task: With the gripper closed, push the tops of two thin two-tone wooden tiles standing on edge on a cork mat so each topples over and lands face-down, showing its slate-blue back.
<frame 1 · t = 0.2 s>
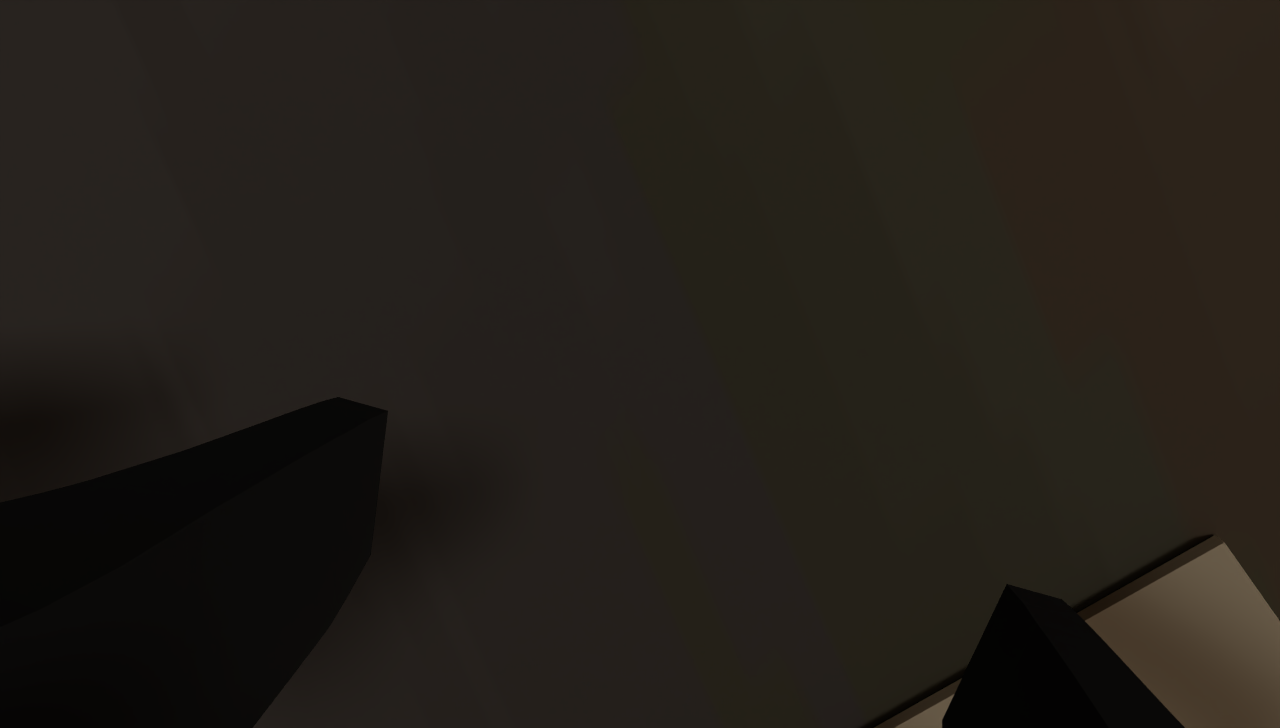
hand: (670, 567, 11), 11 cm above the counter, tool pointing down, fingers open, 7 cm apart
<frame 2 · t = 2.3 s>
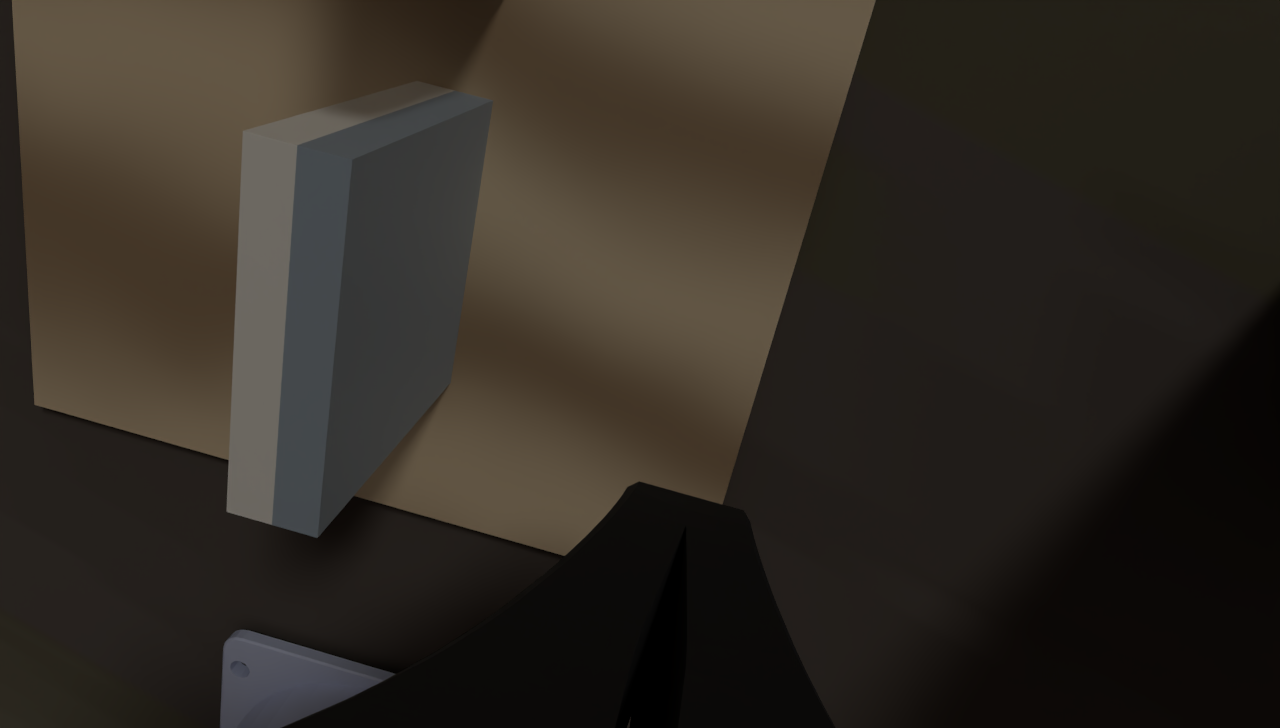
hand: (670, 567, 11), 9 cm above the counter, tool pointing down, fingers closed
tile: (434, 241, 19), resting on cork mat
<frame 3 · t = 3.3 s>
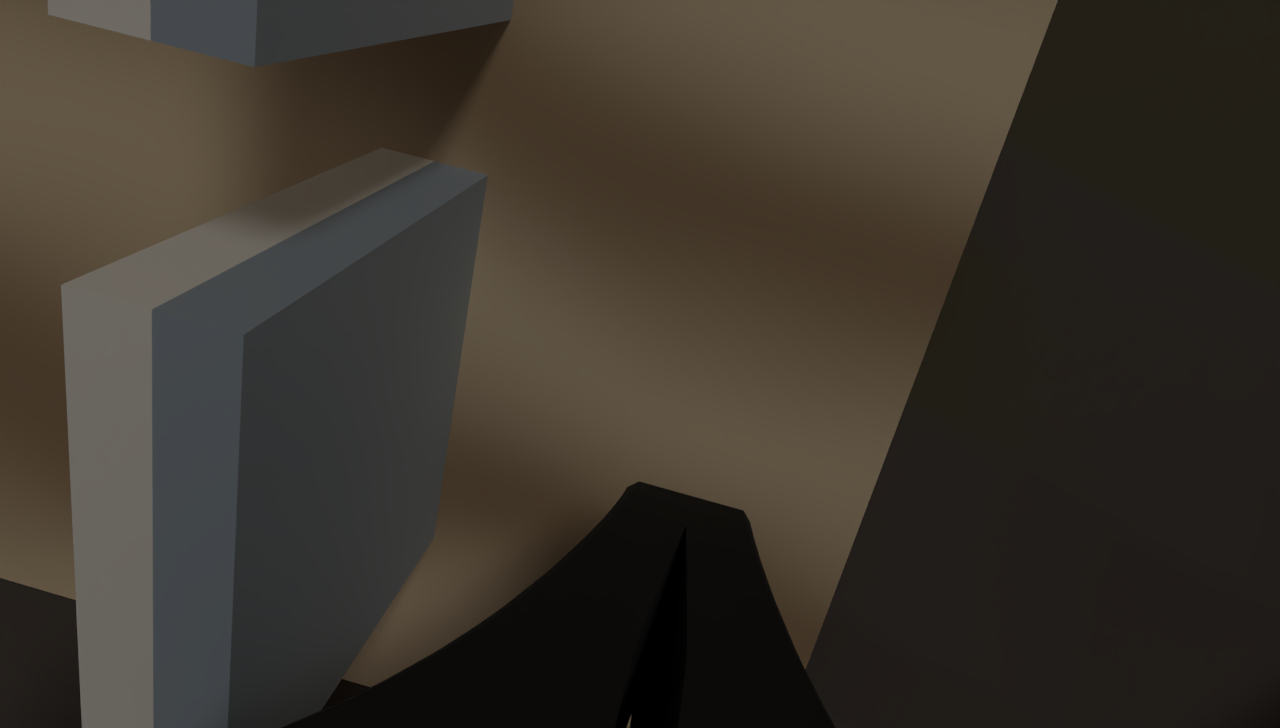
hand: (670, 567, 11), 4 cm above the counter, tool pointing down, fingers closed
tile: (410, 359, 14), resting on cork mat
cork mat: (387, 26, 12), on the counter
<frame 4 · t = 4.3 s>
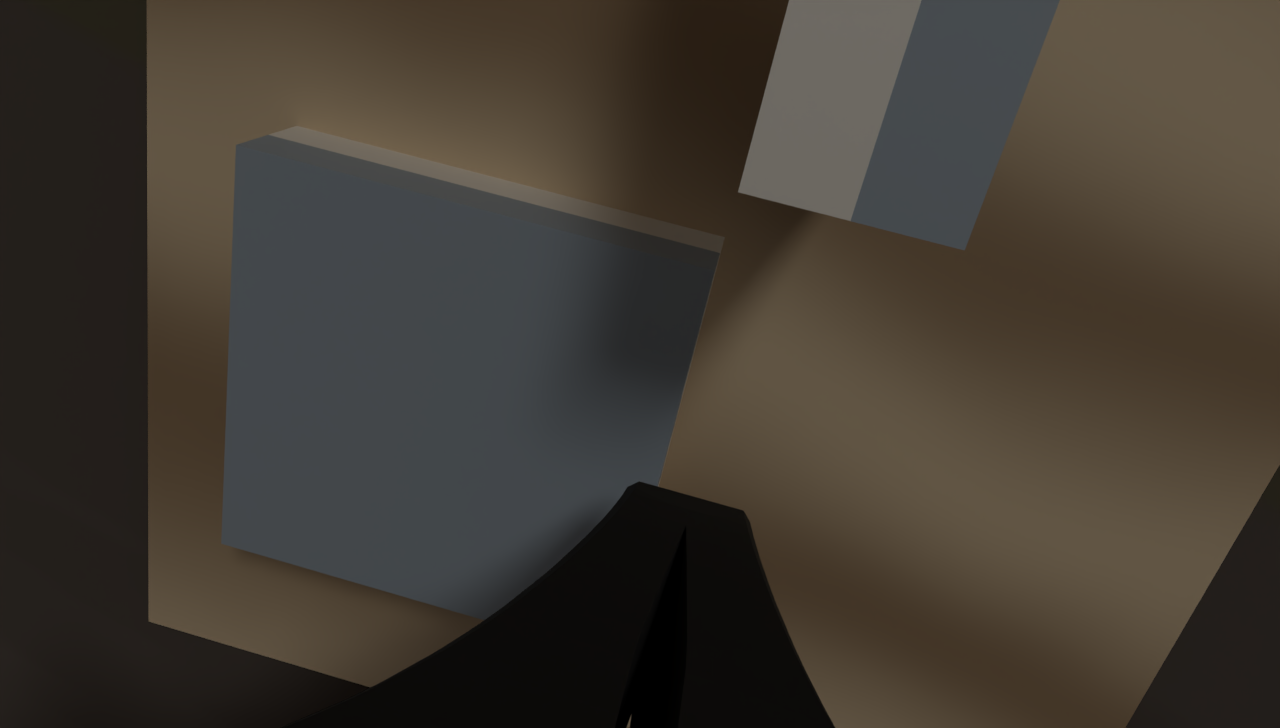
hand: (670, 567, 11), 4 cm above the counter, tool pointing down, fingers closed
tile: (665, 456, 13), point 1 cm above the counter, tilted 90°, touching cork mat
cork mat: (742, 116, 12), on the counter
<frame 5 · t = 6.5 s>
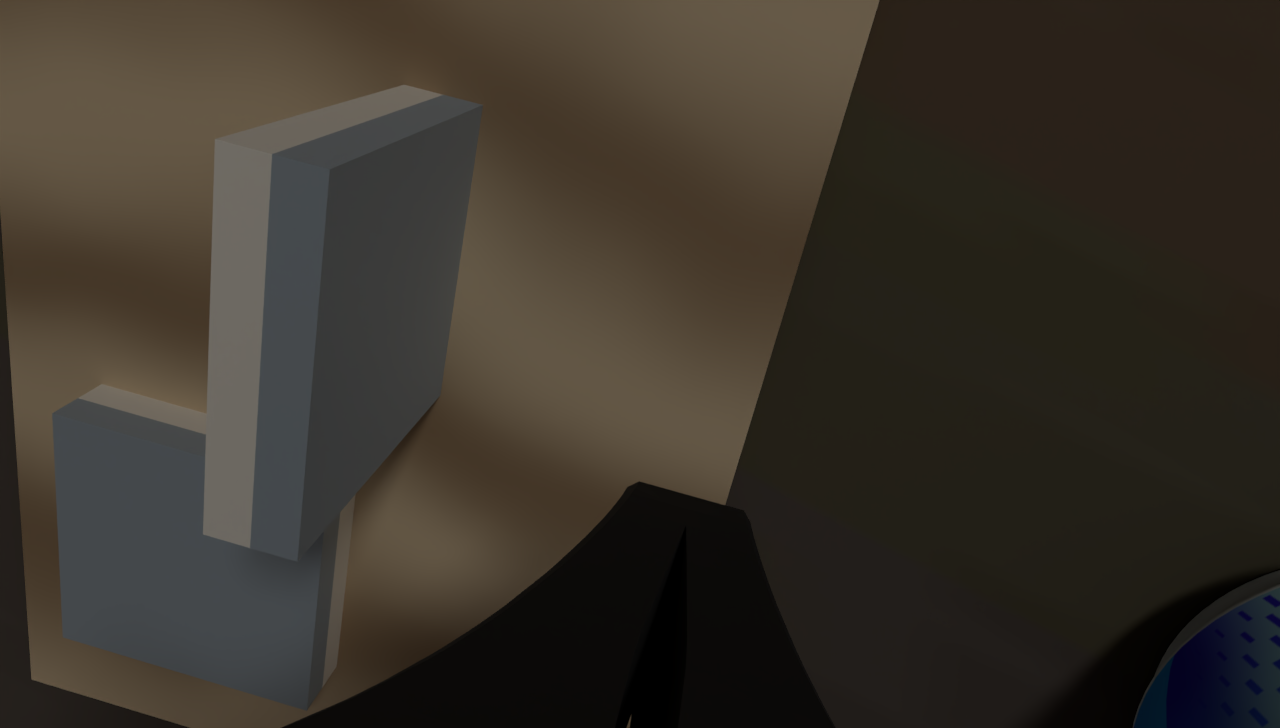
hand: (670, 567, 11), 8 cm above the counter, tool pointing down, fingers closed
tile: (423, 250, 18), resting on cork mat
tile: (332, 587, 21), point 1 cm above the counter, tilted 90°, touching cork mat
cork mat: (366, 386, 20), on the counter
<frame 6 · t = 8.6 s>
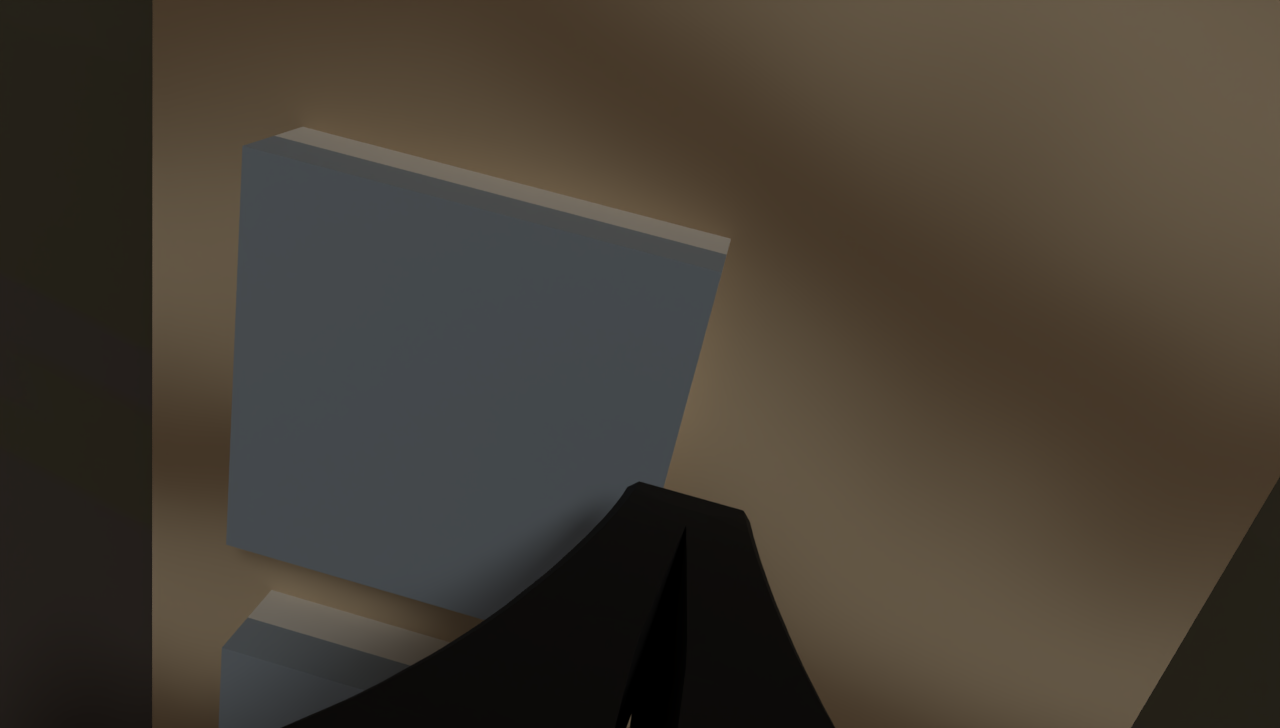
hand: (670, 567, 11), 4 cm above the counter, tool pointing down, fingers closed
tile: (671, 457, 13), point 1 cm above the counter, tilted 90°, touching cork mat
cork mat: (621, 601, 15), on the counter
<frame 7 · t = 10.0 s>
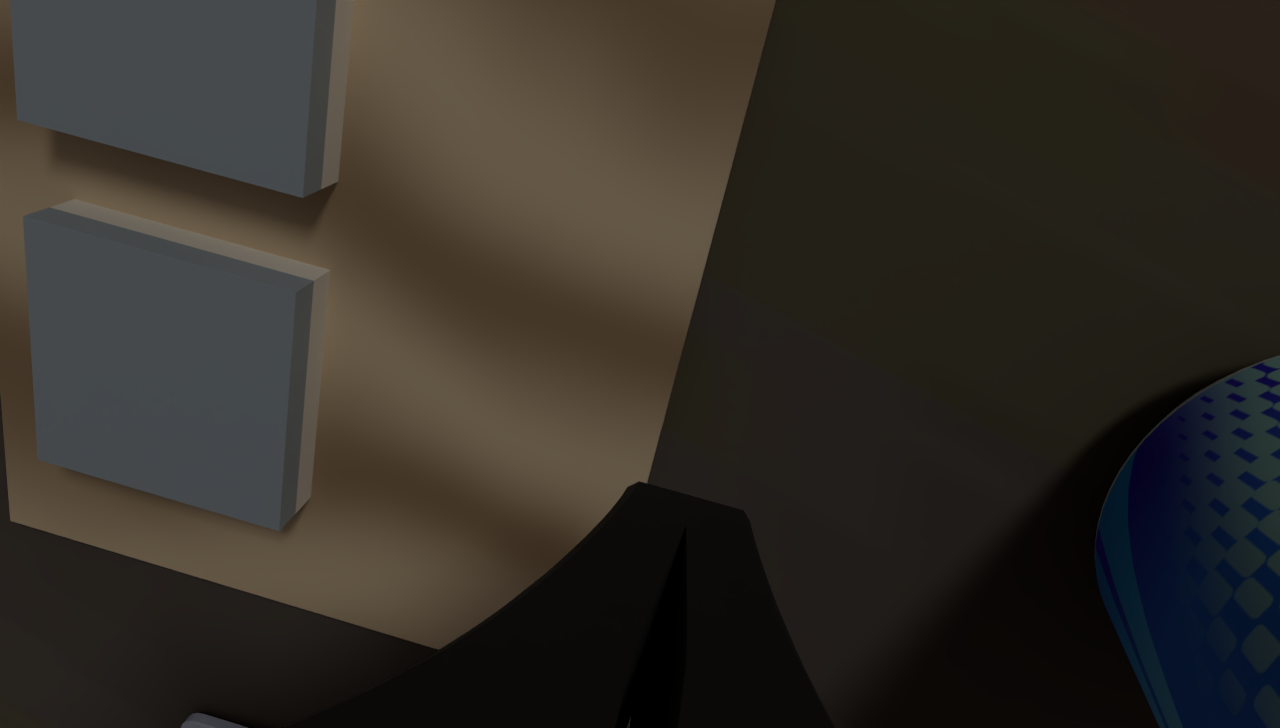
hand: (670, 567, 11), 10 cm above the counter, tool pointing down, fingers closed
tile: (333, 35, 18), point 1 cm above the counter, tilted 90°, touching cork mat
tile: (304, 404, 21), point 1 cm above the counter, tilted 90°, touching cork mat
cork mat: (336, 197, 20), on the counter
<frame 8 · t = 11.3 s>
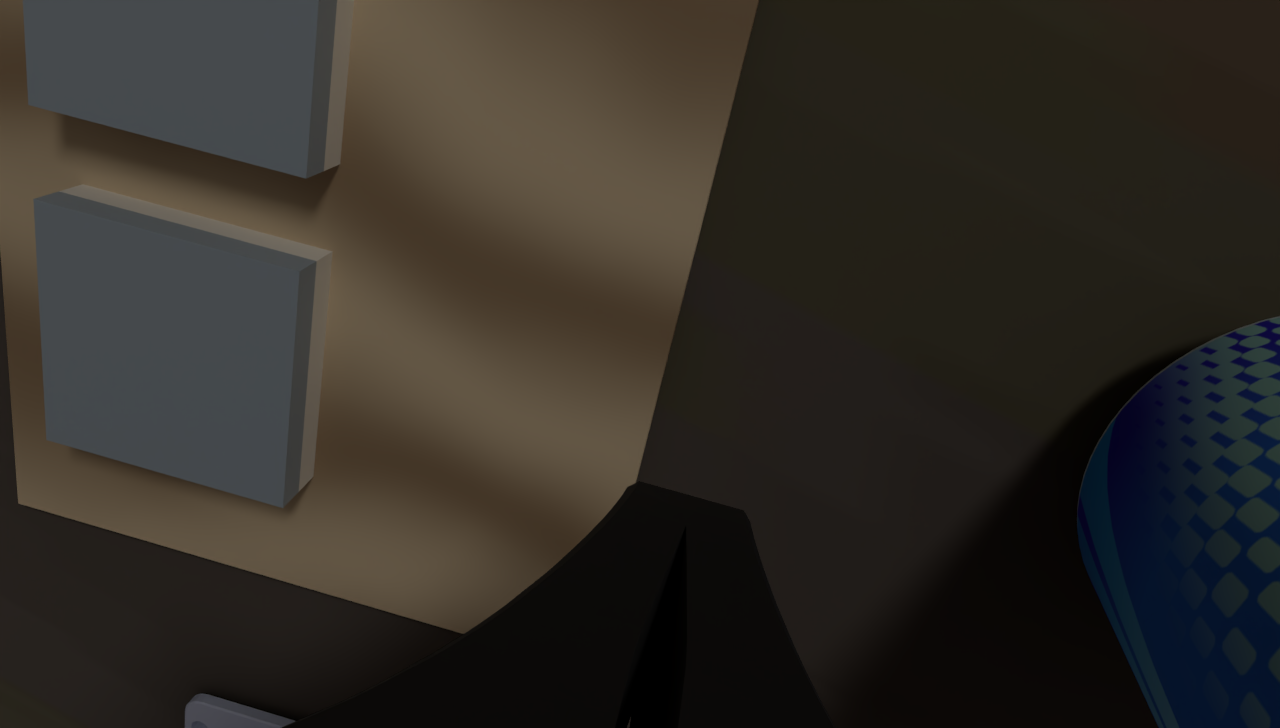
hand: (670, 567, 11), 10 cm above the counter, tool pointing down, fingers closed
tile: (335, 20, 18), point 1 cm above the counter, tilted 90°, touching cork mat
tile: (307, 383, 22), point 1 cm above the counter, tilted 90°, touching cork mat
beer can: (1268, 470, 20), on the counter
cork mat: (338, 180, 21), on the counter
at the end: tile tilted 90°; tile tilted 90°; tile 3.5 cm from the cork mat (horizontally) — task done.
